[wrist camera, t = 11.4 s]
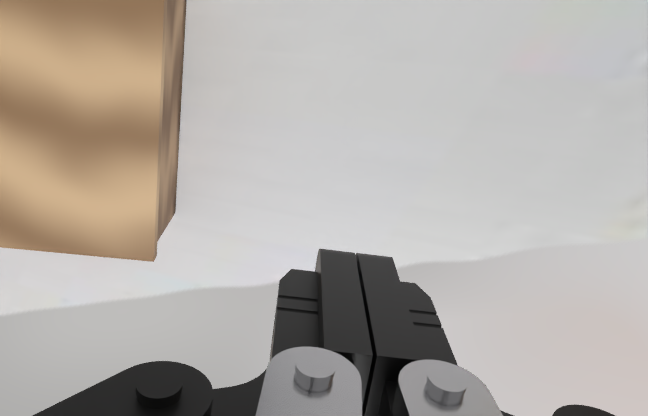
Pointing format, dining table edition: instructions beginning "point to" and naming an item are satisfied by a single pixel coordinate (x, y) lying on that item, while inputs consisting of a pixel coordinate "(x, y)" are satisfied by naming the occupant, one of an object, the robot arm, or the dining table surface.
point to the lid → (81, 125)
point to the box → (171, 111)
